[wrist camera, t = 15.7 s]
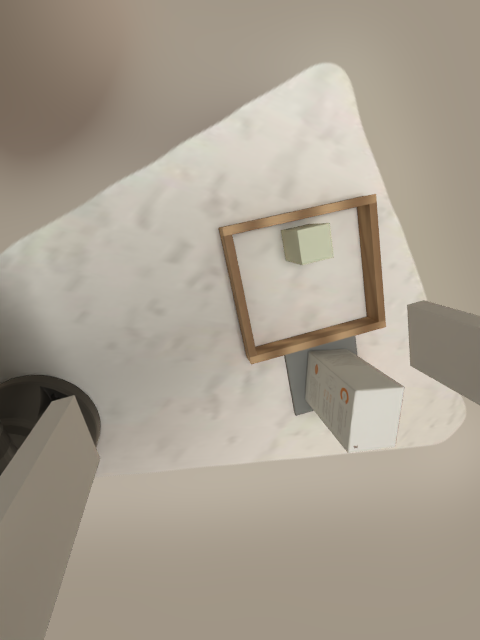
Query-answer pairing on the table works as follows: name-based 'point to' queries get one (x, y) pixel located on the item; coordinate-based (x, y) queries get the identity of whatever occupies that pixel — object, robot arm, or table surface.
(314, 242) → the sage block
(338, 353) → the small box
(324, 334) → the bin
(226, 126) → the table surface
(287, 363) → the mat
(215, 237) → the table surface
